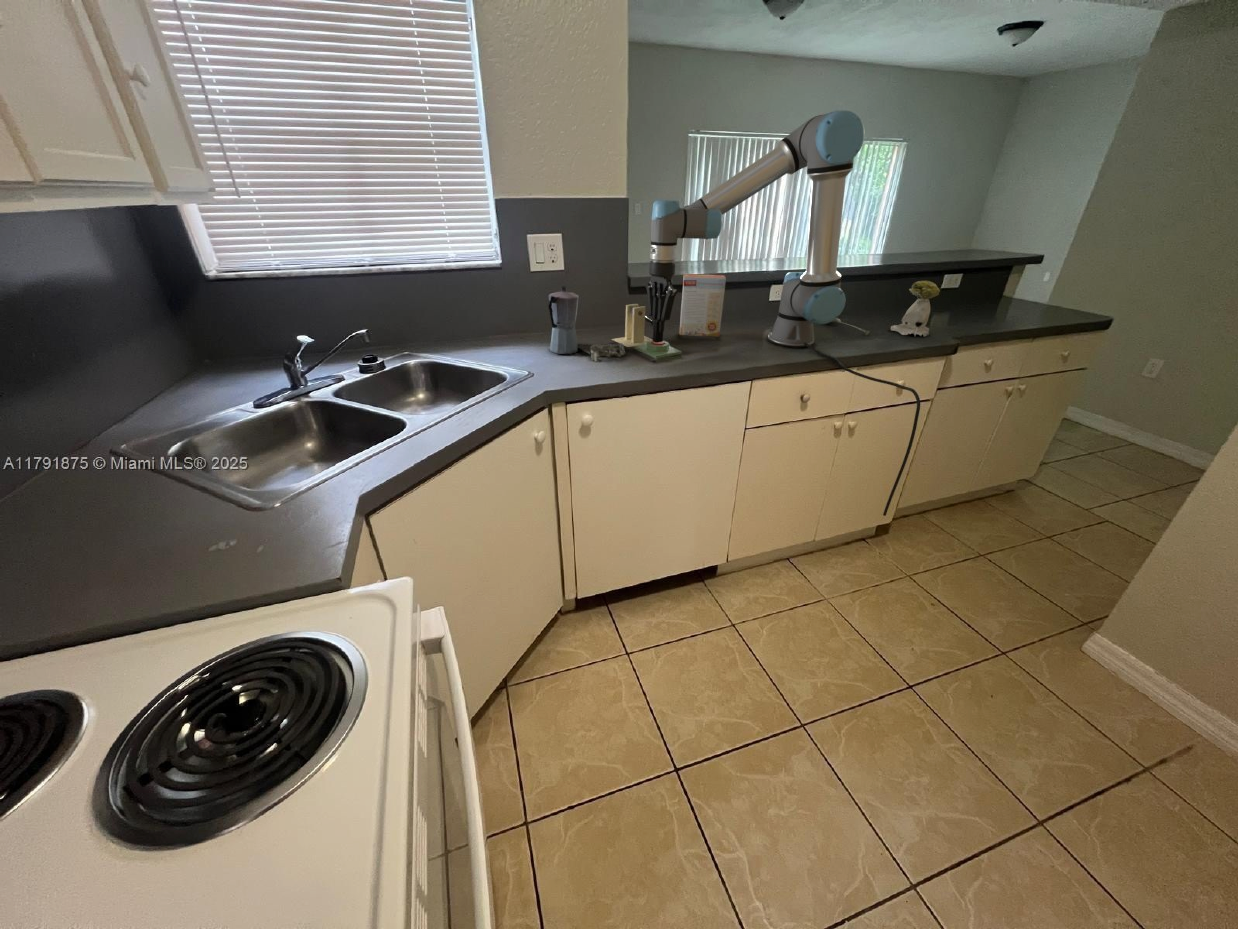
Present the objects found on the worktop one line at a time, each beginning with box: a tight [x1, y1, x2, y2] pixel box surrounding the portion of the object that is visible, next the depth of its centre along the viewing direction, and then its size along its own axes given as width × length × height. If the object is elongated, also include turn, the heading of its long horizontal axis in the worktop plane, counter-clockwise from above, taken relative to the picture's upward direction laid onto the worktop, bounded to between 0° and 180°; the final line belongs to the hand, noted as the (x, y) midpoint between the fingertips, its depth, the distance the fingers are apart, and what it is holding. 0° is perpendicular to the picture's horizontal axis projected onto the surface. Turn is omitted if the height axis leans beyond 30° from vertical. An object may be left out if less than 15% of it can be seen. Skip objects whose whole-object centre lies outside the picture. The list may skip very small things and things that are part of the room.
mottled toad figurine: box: [589, 343, 626, 362], centre depth 151 cm, size 11×8×4 cm
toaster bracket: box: [611, 303, 653, 348], centre depth 161 cm, size 12×10×13 cm
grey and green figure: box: [890, 280, 941, 337], centre depth 179 cm, size 12×13×18 cm
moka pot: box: [547, 285, 580, 355], centre depth 151 cm, size 10×15×20 cm, turn 161°
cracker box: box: [679, 273, 727, 338], centre depth 168 cm, size 14×6×21 cm, turn 84°
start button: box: [652, 340, 665, 345], centre depth 153 cm, size 4×4×2 cm
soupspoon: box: [832, 317, 870, 336], centre depth 187 cm, size 22×3×7 cm
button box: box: [633, 339, 683, 364], centre depth 154 cm, size 12×10×4 cm
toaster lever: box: [629, 306, 653, 327], centre depth 161 cm, size 12×5×2 cm
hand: (657, 341), depth 152 cm, fingers closed
